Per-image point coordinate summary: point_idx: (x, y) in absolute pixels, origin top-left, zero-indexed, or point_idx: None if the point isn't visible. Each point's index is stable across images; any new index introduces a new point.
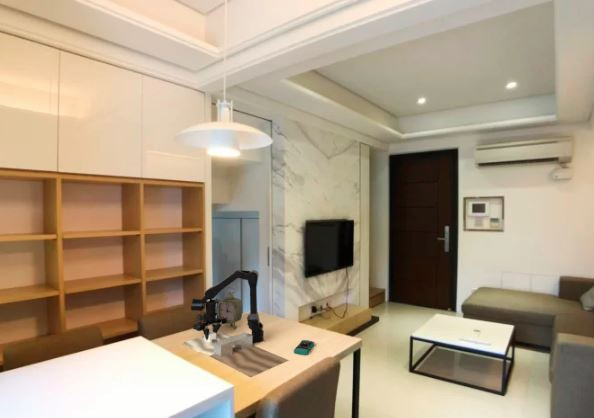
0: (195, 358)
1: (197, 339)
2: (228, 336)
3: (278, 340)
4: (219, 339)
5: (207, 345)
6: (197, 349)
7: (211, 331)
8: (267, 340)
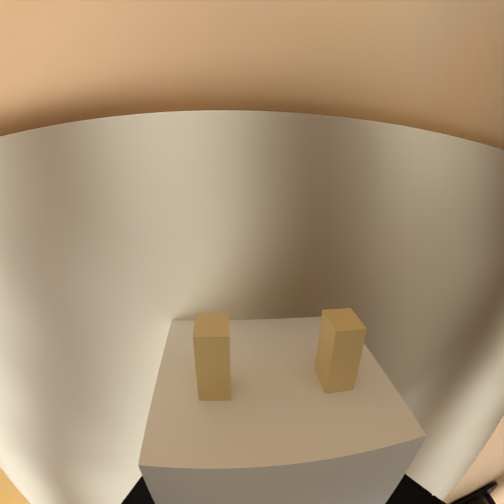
0: (3, 498)
1: (65, 206)
2: (492, 410)
3: (496, 500)
4: None
5: (124, 497)
6: (9, 476)
7: (388, 494)
8: (490, 495)
